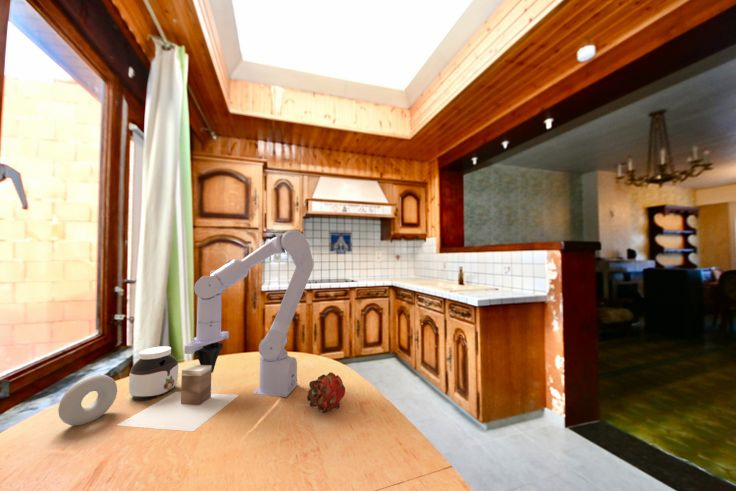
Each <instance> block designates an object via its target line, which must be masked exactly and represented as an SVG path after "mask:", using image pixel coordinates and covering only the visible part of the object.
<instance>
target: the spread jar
mask: <svg viewBox="0 0 736 491" xmlns="http://www.w3.org/2000/svg"><path fill="white" fill-rule="evenodd" d="M171 353H172V347H171V346H168V345H167V346H163V345H162V346H156V347H155V346H154V347H150V348H145V349H143V350H141V351H139V353H138V354H139V355H138V358H139V359H138V360H137V361H136V362H135V363H134V364H133V365H132V367H131V368H130V371H129V377H128V391H129V392H128V393H129V395H130V396H131V397H132V398H133V399H135V400H138V401H139V400H140V401H146V400H148V401H149V400H153V399H157V398H160V397H162V396H164V395H167V394H168V393H170V392H172V391H173V390H174V388H175V387H176V386H177V384H178V383H177V382H178V378H179V363H178V362H179V361H178V359H177V358H176V357H175V356H174V355H172V354H171Z"/></svg>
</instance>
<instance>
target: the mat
mask: <svg viewBox="0 0 736 491" xmlns="http://www.w3.org/2000/svg"><path fill="white" fill-rule="evenodd" d="M239 396H240V395H239V394H227V393H211V398H209V399H208V400H206V401H205V402H203V403H202V404H200V405H190V404H181V391H175V392H173V393H171V394H169V395H168V396H165V397H163V398H162V399H160V400H158V401H156V402H155V403H154V404H152V405H150V406H148V407H146V408H145V409H143V410H141V411H140V412H139V411H138V413H136V414H134V415H132V416H130V417H129V418H127V419H125V420H123V421H122V422H120V423H117V424H115V426H117V427H127V428H128V427H130V428H141V429H144V428H145V429H152V430H153V429H155V430H168V431H181V432H193V433H194V432H195V431H196V430H197V429H199V428H200V427H201V426H202V425H204V424H205V423H206V422H207V421H209V420H210V419H212V418H213V417H215V415H216V414H218V413H219V412H220V411H222V409H224V408H225V407H226V406H228V405H229V404H230V403H231V402H233V401H234V400H235V399H236V398H238V397H239Z"/></svg>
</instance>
